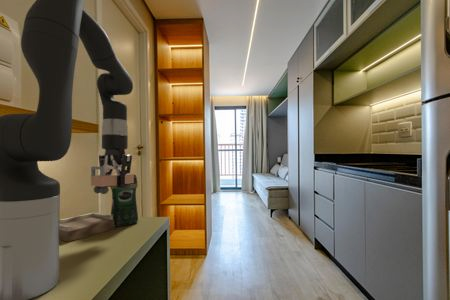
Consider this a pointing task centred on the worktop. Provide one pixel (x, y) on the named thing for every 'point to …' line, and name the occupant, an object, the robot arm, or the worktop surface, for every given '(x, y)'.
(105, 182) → the tan board with wheels
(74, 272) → the worktop surface
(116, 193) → the coffee jar
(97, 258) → the worktop surface
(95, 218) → the dock
